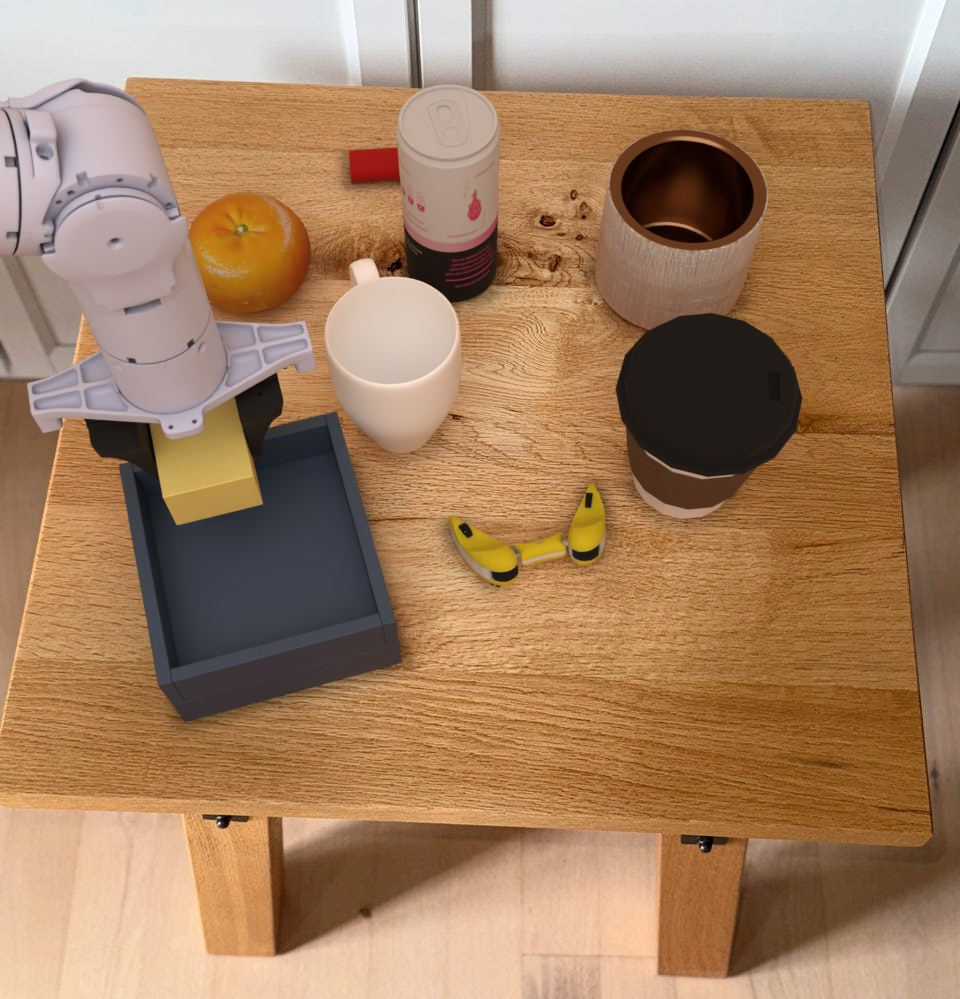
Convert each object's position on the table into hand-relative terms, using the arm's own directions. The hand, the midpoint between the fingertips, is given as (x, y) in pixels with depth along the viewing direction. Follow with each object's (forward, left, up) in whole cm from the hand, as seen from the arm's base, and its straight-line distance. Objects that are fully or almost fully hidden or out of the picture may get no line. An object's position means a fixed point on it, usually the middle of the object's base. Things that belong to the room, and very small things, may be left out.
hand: (206, 453), depth 70 cm
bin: (+1, -5, -10) cm, 11 cm away
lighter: (+18, +27, -10) cm, 34 cm away
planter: (+34, +11, -10) cm, 37 cm away
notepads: (0, 0, 0) cm, 0 cm away
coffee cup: (+29, -5, -10) cm, 31 cm away
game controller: (+18, -7, -10) cm, 22 cm away
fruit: (+5, +19, -10) cm, 22 cm away
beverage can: (+19, +16, -10) cm, 27 cm away
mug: (+12, +6, -10) cm, 17 cm away
